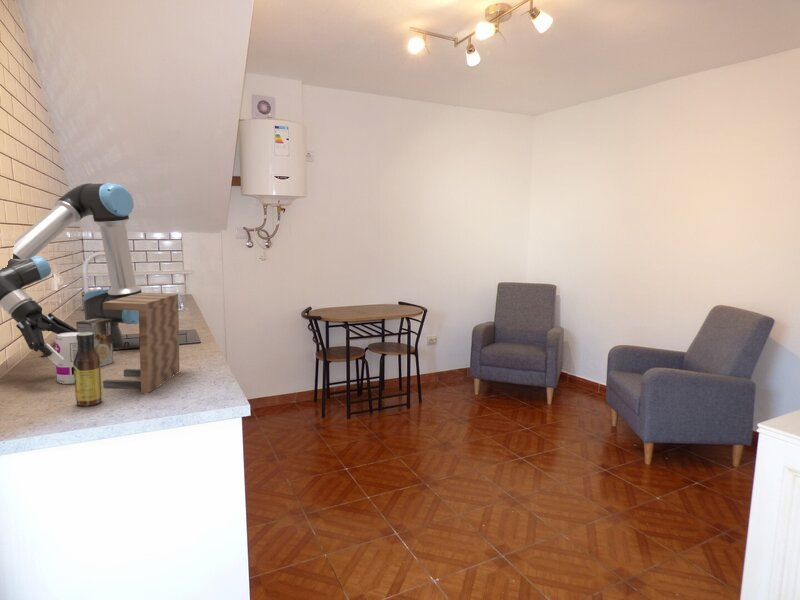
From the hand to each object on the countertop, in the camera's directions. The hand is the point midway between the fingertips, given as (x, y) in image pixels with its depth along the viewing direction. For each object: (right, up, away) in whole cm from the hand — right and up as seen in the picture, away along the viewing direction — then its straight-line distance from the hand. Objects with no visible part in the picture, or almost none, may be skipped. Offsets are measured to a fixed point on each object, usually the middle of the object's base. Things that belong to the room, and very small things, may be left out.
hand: (74, 356), depth 156 cm
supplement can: (-1, -8, +1) cm, 8 cm away
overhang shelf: (+19, -8, +3) cm, 21 cm away
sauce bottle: (+16, -11, -18) cm, 26 cm away
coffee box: (-5, -5, +20) cm, 21 cm away
